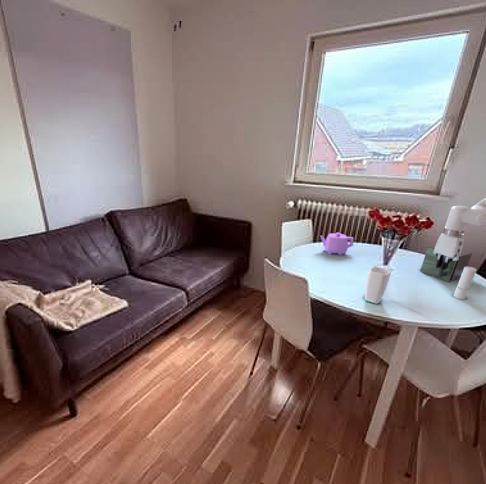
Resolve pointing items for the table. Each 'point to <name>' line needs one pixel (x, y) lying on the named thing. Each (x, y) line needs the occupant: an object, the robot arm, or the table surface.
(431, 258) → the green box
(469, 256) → the cupboard
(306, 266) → the table surface
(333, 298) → the table surface
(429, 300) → the table surface
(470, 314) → the table surface
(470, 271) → the tube
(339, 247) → the teapot
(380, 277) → the cup
